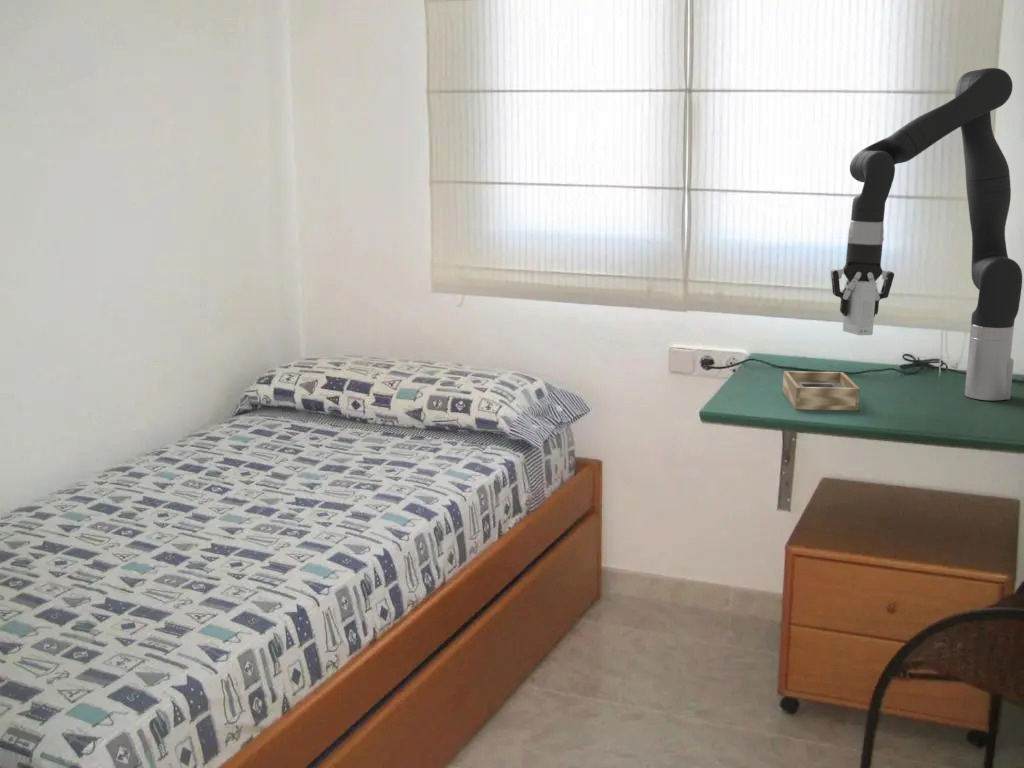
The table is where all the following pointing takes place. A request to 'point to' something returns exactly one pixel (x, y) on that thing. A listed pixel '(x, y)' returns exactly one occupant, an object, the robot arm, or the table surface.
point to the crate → (821, 390)
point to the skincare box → (861, 309)
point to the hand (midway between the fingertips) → (858, 315)
